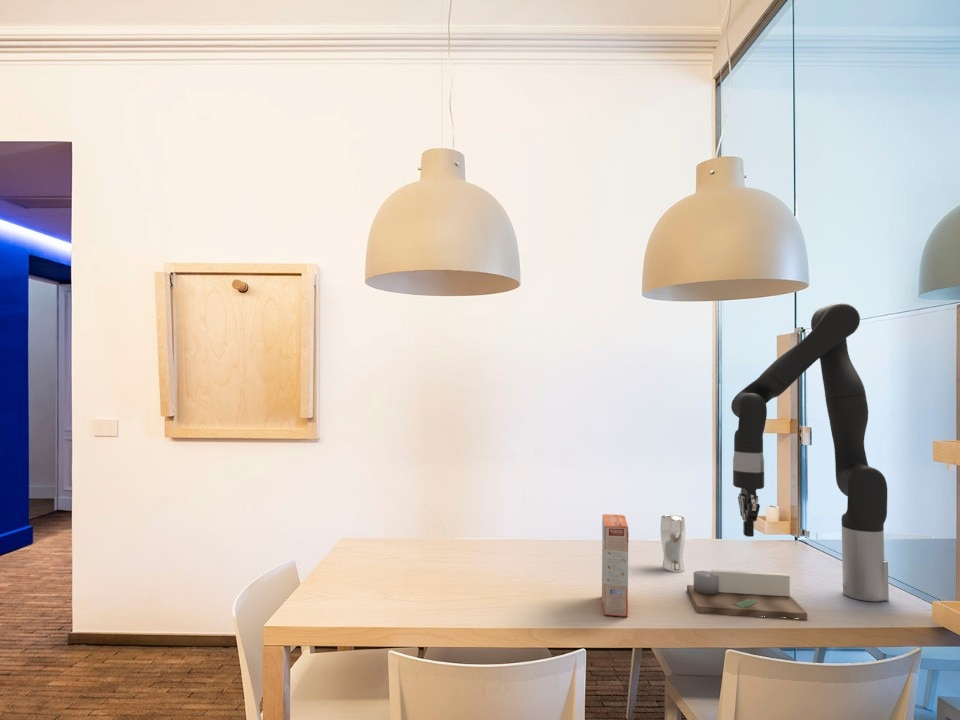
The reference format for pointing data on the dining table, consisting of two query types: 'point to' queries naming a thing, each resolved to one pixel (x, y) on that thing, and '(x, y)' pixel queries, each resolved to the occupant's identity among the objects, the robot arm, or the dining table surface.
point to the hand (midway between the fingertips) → (748, 535)
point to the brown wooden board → (746, 604)
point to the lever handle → (741, 582)
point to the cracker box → (615, 565)
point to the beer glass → (673, 542)
